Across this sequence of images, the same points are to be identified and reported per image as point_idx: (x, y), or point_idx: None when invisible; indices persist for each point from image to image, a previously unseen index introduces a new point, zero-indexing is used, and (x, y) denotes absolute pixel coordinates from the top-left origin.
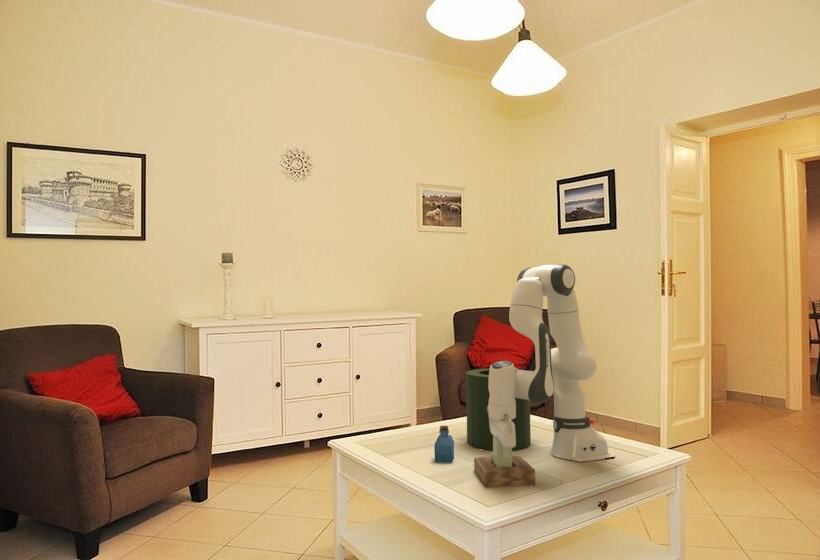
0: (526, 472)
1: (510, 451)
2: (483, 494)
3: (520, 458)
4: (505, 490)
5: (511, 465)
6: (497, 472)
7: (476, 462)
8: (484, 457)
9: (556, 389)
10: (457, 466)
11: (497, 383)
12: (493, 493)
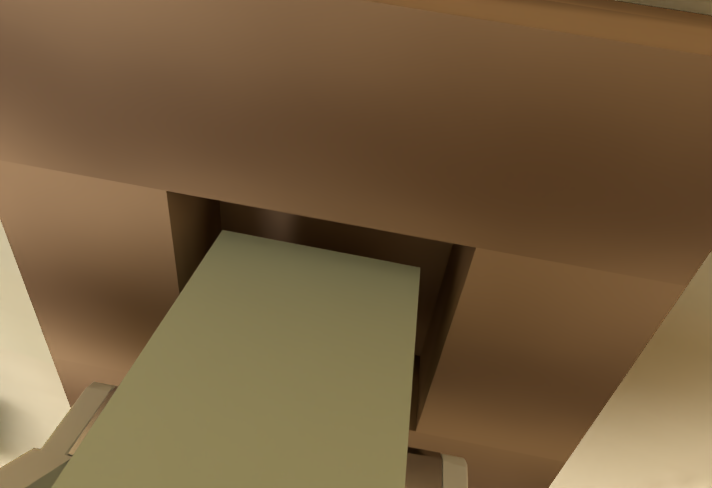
0: None
1: (399, 479)
2: (633, 472)
3: (77, 10)
4: (656, 349)
5: (416, 292)
6: (559, 465)
7: None
8: (72, 381)
9: None
10: (45, 387)
11: None
12: (658, 429)
